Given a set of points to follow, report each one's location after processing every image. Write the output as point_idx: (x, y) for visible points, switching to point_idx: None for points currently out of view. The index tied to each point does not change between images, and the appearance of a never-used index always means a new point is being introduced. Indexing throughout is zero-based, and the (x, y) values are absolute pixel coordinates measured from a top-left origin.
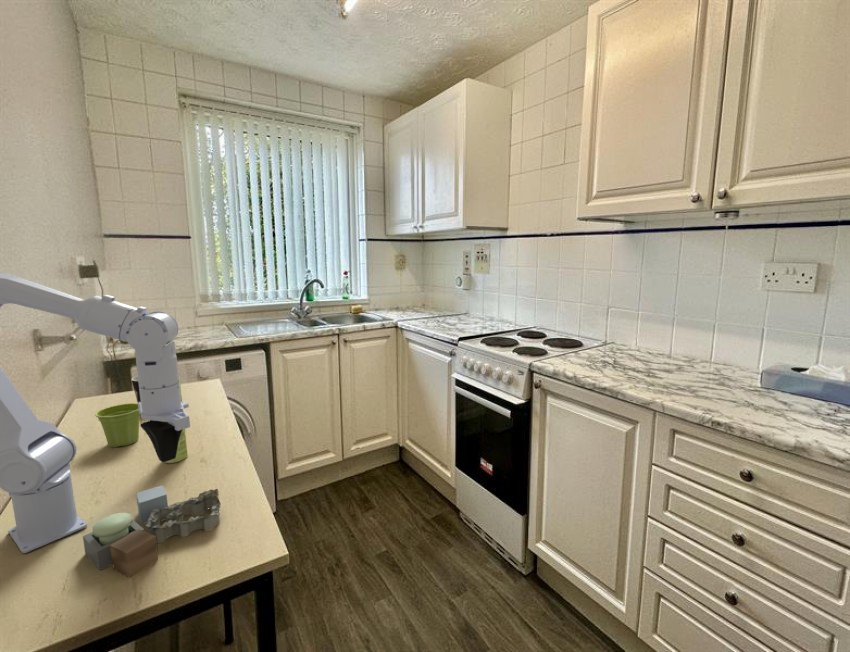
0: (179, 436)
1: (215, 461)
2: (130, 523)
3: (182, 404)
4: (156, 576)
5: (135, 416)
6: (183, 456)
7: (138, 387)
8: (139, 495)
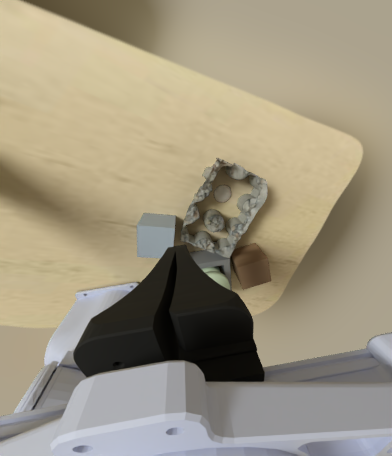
0: (205, 273)
1: (5, 79)
2: (222, 274)
3: (179, 447)
4: (277, 248)
5: None
6: None
7: None
8: (148, 255)
